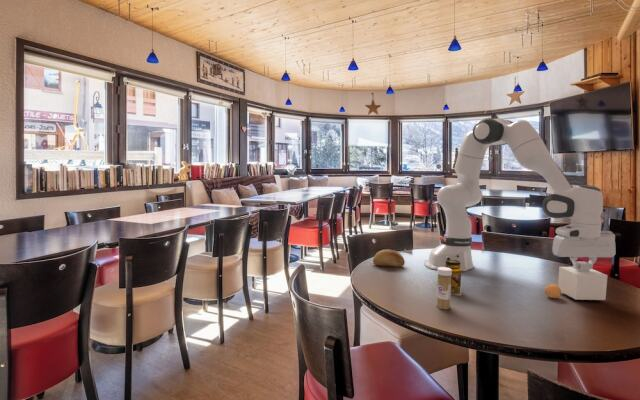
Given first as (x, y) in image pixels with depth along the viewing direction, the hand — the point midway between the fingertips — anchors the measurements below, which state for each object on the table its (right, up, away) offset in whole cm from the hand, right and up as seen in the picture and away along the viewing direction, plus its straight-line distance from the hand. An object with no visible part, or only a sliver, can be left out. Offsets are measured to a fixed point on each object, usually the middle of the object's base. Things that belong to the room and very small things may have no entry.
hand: (582, 268), depth 132 cm
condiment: (-45, -10, +8) cm, 47 cm away
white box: (0, -10, +1) cm, 10 cm away
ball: (-10, -8, +1) cm, 13 cm away
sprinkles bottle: (-52, -12, -7) cm, 54 cm away
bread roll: (-61, -7, +44) cm, 76 cm away
